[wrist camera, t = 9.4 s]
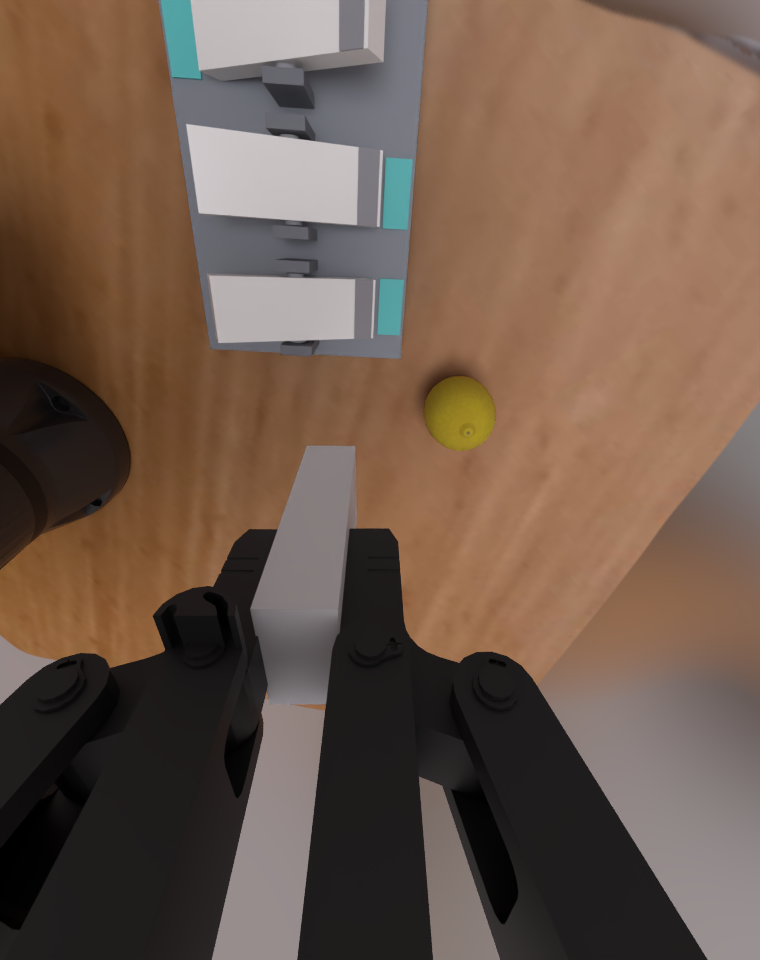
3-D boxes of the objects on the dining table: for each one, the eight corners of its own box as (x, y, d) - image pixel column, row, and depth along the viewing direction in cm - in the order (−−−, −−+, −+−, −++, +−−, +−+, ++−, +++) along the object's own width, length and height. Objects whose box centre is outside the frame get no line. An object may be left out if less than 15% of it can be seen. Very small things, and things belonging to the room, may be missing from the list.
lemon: (408, 387, 36) (415, 421, 29) (465, 352, 34) (487, 379, 27) (438, 436, 38) (451, 479, 31) (493, 406, 37) (520, 443, 30)
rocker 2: (200, 218, 23) (199, 217, 21) (187, 125, 21) (185, 117, 19) (371, 231, 26) (380, 230, 24) (374, 150, 24) (383, 145, 22)
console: (227, 338, 33) (188, 362, 27) (181, -22, 24) (100, -134, 17) (398, 347, 34) (403, 373, 27) (423, -3, 24) (442, -104, 17)
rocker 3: (216, 341, 26) (219, 347, 24) (206, 269, 24) (208, 271, 22) (364, 336, 29) (373, 341, 28) (366, 274, 27) (376, 276, 26)
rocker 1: (222, 86, 23) (198, 74, 22) (211, -20, 21) (184, -39, 20) (383, 67, 19) (366, 53, 18) (388, -62, 17) (370, -89, 16)
